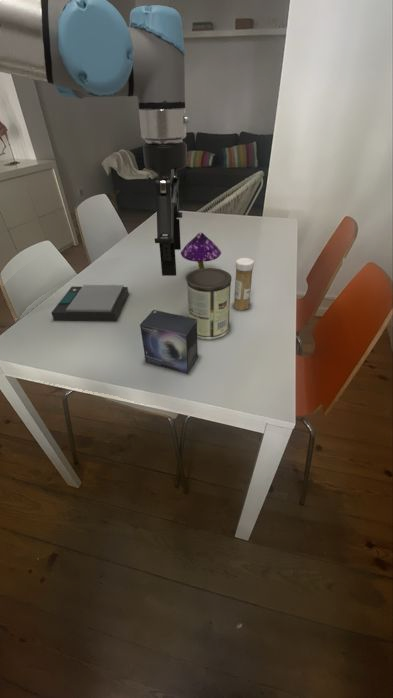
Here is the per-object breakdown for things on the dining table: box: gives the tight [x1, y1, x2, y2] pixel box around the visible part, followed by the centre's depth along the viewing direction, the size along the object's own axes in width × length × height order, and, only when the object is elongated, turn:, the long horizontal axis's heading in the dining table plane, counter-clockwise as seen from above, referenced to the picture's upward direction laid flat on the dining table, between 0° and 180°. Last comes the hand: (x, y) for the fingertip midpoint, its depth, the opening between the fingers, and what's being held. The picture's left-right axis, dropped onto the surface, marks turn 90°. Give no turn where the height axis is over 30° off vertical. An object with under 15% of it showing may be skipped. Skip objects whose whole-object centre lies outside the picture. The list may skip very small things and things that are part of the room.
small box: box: [139, 309, 199, 374], centre depth 68 cm, size 11×6×10 cm, turn 68°
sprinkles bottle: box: [233, 257, 255, 311], centre depth 85 cm, size 5×5×14 cm
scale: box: [50, 284, 130, 322], centre depth 89 cm, size 17×15×3 cm
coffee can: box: [185, 267, 232, 340], centre depth 77 cm, size 10×10×14 cm
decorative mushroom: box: [180, 232, 222, 269], centre depth 98 cm, size 12×12×15 cm
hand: (172, 261), depth 67 cm, fingers open, 13 cm apart
